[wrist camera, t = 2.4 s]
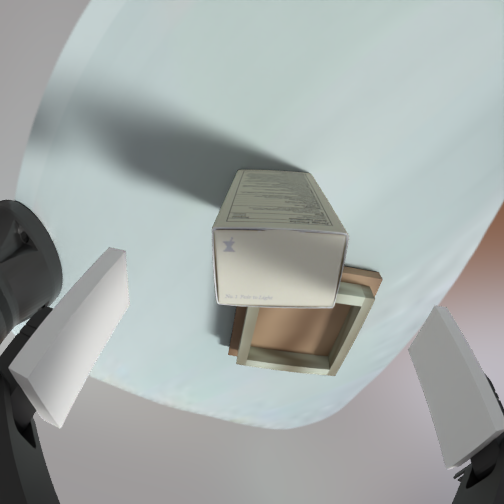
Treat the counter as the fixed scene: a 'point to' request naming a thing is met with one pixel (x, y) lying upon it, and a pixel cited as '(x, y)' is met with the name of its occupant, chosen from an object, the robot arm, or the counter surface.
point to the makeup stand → (305, 329)
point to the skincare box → (277, 243)
